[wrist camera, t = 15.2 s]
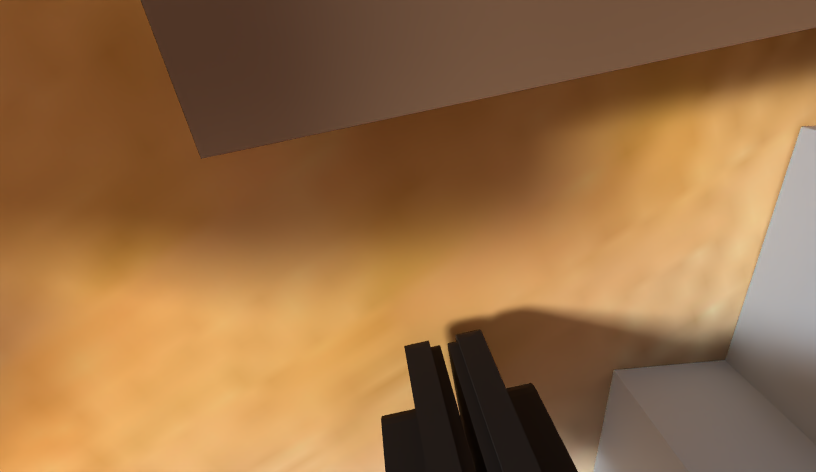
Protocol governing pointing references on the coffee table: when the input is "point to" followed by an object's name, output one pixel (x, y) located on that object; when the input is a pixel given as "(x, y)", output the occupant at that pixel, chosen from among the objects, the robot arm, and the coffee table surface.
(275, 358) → the coffee table surface
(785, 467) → the tee block
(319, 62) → the walnut fence
